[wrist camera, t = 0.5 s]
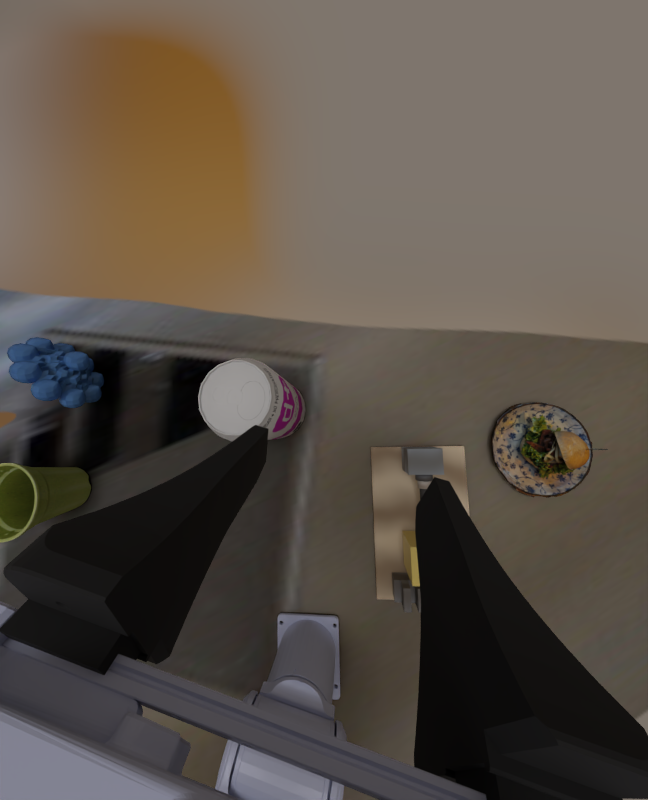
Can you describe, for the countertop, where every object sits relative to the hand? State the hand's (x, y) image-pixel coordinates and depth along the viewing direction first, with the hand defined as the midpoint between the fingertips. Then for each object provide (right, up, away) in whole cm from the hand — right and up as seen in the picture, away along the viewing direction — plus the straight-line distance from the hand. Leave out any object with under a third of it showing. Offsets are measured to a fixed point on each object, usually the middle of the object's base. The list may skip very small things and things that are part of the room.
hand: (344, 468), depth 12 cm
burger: (+27, -3, +24) cm, 36 cm away
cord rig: (+12, -13, +24) cm, 30 cm away
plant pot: (-39, -11, +30) cm, 50 cm away
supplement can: (-7, +1, +28) cm, 29 cm away
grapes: (-35, +6, +32) cm, 48 cm away
